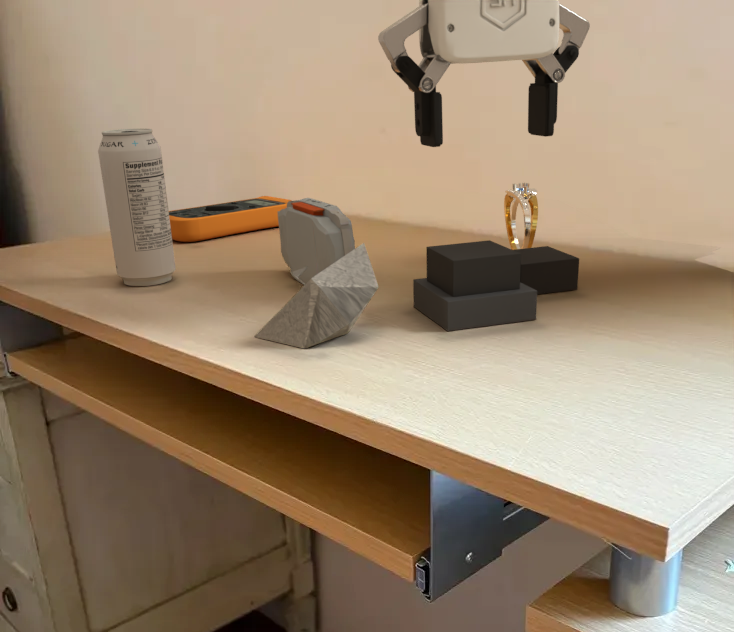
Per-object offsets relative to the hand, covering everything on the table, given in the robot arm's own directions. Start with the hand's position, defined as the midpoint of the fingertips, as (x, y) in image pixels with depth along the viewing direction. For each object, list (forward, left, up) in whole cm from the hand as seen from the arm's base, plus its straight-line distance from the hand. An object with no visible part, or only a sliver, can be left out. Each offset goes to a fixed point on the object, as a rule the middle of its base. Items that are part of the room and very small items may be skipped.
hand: (486, 140), depth 67 cm
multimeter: (+15, -49, -14) cm, 53 cm away
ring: (-12, -17, -14) cm, 25 cm away
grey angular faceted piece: (+14, 0, -14) cm, 20 cm away
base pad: (+1, 0, -14) cm, 14 cm away
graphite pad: (-8, -6, -14) cm, 17 cm away
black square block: (+1, 0, -12) cm, 12 cm away
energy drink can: (+27, -25, -14) cm, 39 cm away
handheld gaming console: (+11, -16, -14) cm, 24 cm away
